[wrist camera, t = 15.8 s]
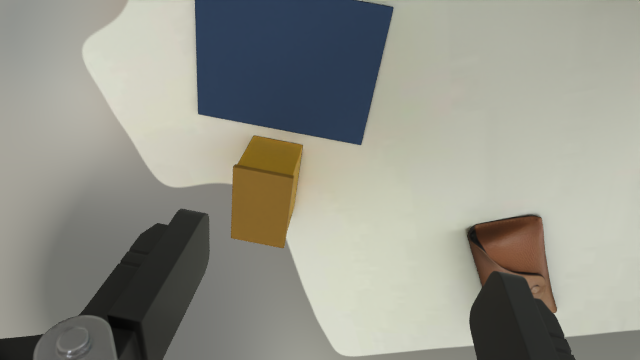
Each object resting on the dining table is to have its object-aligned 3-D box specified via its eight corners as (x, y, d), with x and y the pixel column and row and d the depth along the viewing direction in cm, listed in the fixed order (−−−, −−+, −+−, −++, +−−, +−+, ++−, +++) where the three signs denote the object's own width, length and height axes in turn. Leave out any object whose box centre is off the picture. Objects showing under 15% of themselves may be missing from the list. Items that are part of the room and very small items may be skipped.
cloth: (393, 7, 35) (393, 7, 35) (361, 143, 43) (360, 145, 43) (195, -30, 35) (194, -30, 35) (198, 112, 43) (197, 114, 43)
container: (304, 143, 44) (293, 178, 38) (295, 209, 49) (283, 248, 43) (252, 133, 44) (233, 167, 38) (248, 199, 49) (230, 238, 43)
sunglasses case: (562, 313, 52) (550, 357, 49) (507, 300, 57) (491, 339, 54) (541, 211, 44) (524, 254, 41) (479, 206, 49) (459, 244, 45)
